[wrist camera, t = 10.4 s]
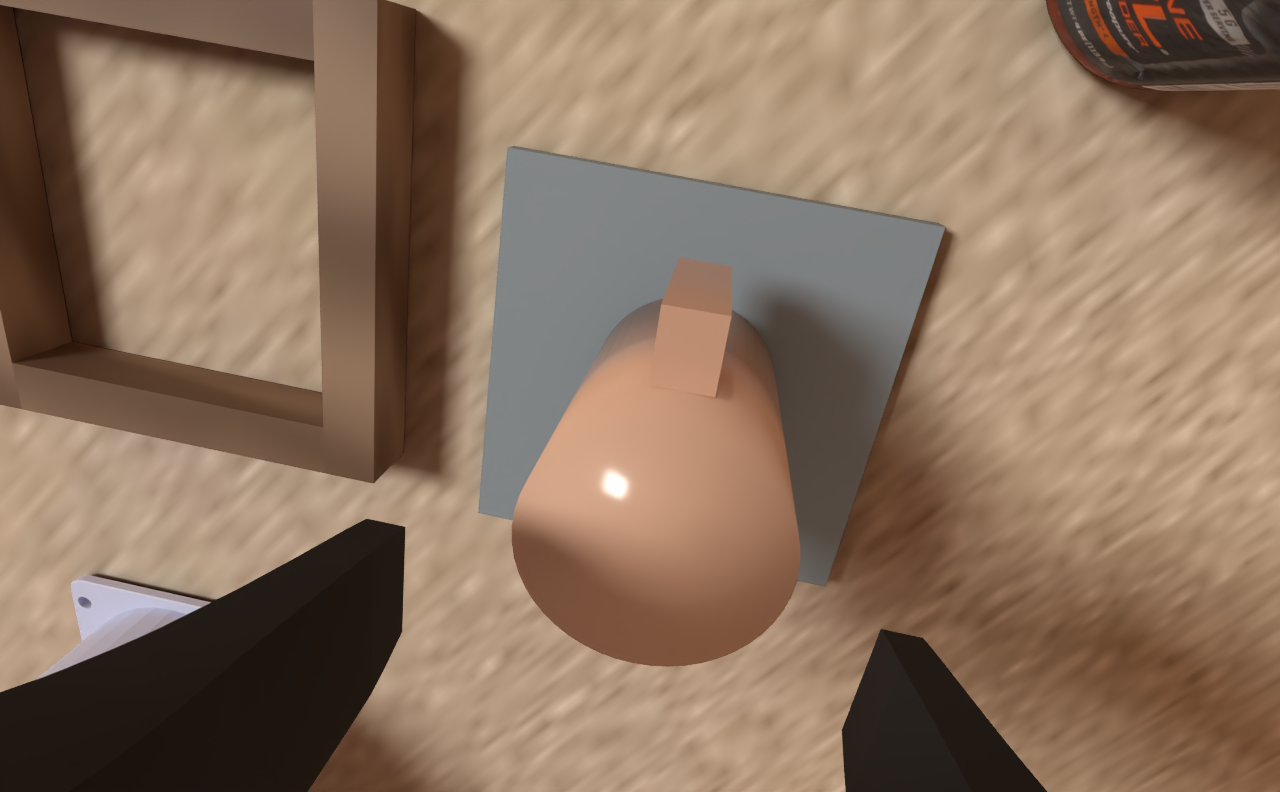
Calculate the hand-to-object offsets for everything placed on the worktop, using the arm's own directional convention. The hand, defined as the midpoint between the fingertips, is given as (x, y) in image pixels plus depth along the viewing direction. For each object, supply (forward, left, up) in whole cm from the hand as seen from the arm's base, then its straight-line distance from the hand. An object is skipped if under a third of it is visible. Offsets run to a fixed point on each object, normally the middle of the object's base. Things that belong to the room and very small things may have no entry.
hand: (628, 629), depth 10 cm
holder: (+2, +14, -10) cm, 18 cm away
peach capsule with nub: (0, 0, -10) cm, 10 cm away
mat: (0, 0, -10) cm, 10 cm away
